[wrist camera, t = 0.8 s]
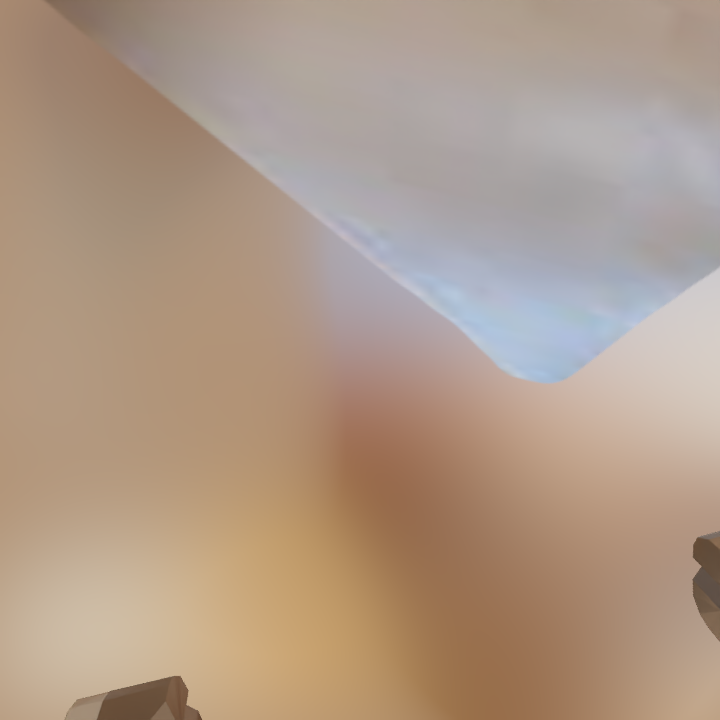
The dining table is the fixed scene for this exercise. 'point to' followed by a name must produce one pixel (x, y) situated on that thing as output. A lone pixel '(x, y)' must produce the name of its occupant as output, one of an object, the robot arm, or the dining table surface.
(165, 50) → the dining table surface
